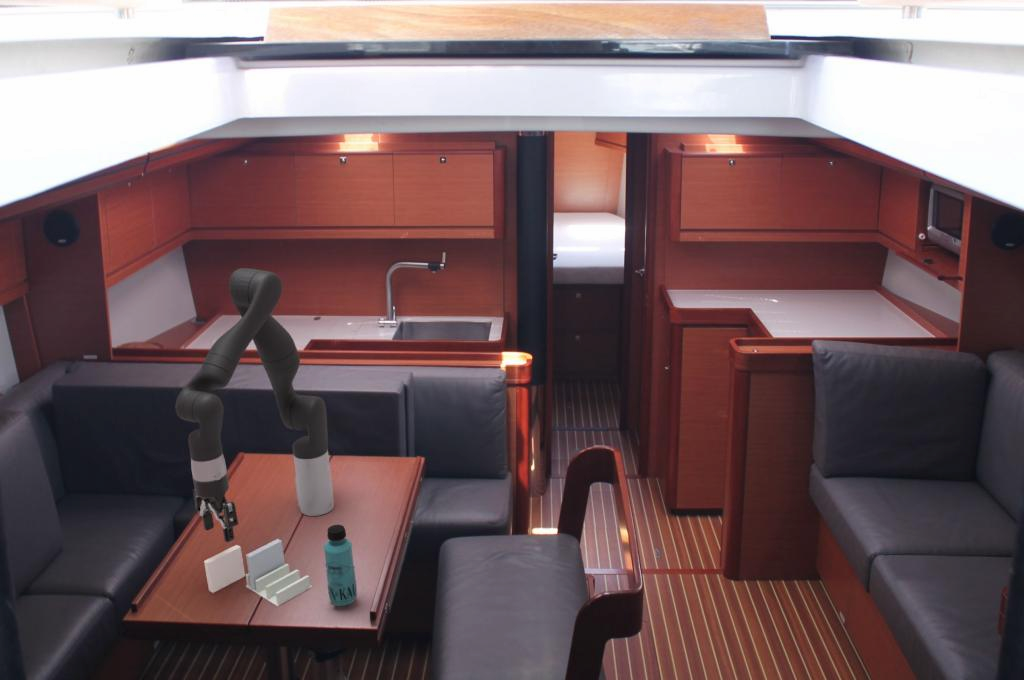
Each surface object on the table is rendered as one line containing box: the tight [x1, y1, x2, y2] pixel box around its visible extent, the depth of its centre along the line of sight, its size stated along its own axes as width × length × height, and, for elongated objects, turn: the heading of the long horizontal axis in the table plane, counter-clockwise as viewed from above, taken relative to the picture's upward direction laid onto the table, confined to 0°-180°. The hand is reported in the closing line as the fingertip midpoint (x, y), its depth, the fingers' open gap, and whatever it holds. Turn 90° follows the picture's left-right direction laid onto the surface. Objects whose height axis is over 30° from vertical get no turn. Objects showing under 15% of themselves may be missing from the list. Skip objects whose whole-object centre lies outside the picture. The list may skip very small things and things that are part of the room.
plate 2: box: [245, 538, 286, 590], centre depth 231 cm, size 2×9×9 cm, turn 138°
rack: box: [245, 563, 313, 607], centre depth 230 cm, size 10×13×4 cm
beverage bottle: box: [323, 524, 358, 607], centre depth 221 cm, size 6×7×20 cm
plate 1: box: [203, 544, 246, 594], centre depth 231 cm, size 2×9×9 cm, turn 138°
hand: (219, 534), depth 228 cm, fingers open, 8 cm apart
